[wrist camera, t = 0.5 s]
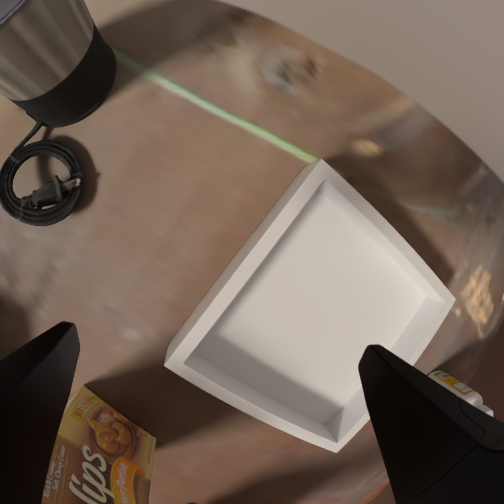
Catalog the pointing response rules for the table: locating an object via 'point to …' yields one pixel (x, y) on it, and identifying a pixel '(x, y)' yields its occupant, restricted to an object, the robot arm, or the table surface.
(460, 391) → the supplement bottle
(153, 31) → the table surface
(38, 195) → the milk frother
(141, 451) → the candy box
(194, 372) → the box
